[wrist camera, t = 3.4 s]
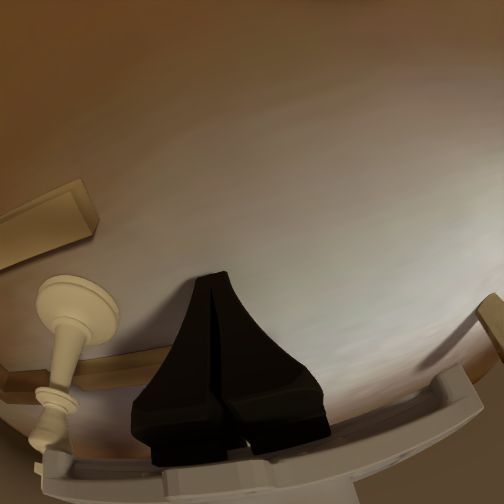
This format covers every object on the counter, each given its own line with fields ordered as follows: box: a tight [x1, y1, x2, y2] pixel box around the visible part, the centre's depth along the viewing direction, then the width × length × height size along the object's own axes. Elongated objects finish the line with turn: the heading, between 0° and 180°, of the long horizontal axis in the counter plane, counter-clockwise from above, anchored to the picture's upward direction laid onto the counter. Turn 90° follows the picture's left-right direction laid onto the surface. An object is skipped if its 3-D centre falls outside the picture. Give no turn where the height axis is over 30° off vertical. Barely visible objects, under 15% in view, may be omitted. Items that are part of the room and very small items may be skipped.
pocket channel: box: [0, 178, 173, 391], centre depth 14 cm, size 13×8×1 cm, turn 11°
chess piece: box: [28, 275, 120, 490], centre depth 10 cm, size 5×5×10 cm
